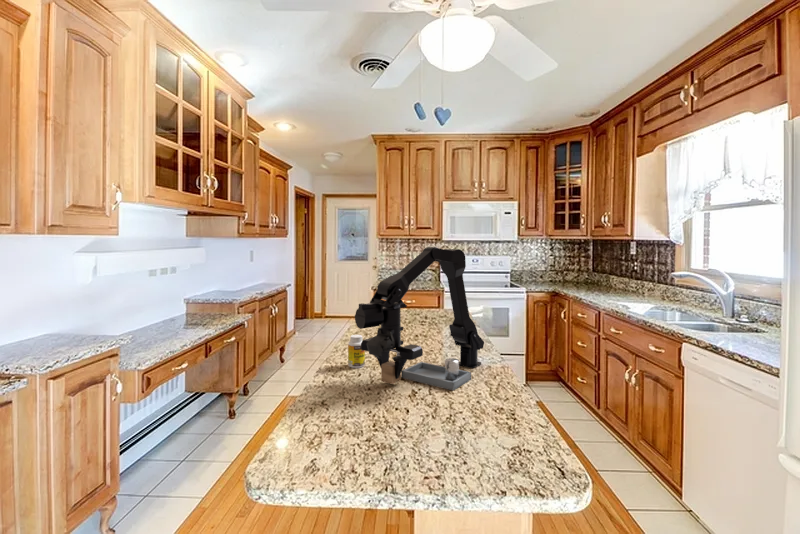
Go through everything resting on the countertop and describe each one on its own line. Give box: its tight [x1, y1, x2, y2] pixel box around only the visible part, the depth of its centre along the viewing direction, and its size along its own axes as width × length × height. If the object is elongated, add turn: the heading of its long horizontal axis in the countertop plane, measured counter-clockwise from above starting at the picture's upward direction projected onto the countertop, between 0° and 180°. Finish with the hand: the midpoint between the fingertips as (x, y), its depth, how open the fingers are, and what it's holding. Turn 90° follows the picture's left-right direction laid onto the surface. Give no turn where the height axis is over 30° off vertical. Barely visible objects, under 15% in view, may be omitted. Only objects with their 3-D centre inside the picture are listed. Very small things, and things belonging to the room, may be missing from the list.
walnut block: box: [380, 360, 402, 385], centre depth 116 cm, size 4×4×5 cm
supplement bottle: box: [347, 334, 366, 369], centre depth 133 cm, size 6×6×10 cm
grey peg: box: [444, 357, 460, 382], centre depth 118 cm, size 4×4×6 cm
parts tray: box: [401, 361, 472, 391], centre depth 121 cm, size 11×18×2 cm, turn 54°
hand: (391, 377), depth 116 cm, fingers closed on walnut block, 4 cm apart
